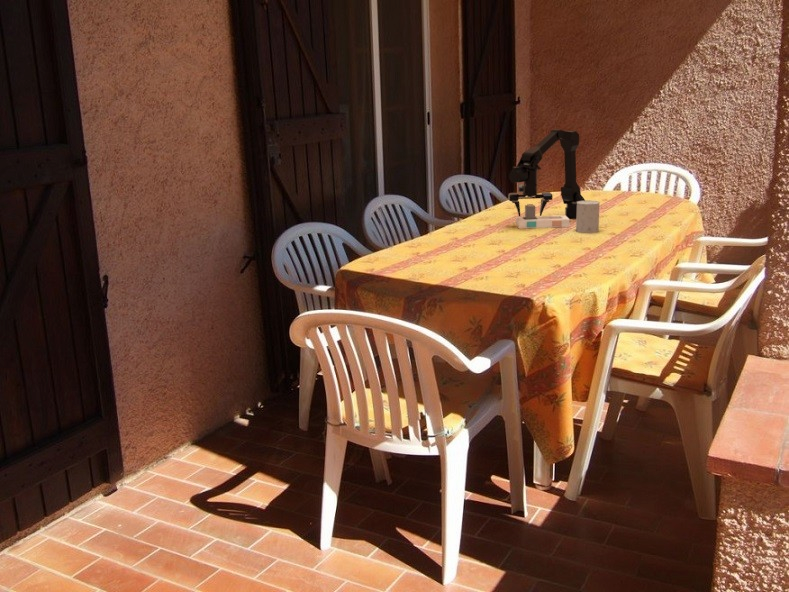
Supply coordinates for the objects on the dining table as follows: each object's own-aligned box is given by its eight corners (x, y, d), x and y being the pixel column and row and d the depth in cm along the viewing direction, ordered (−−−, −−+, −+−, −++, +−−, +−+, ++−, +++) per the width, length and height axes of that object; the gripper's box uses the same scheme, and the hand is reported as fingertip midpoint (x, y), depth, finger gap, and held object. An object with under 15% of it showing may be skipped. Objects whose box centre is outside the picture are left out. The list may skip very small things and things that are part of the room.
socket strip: (565, 222, 393) (565, 215, 392) (569, 227, 383) (569, 219, 382) (515, 224, 393) (516, 216, 393) (518, 228, 383) (519, 220, 382)
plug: (533, 225, 390) (534, 203, 388) (535, 226, 387) (535, 205, 384) (524, 225, 391) (525, 203, 388) (525, 227, 387) (526, 205, 384)
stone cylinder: (573, 232, 373) (573, 203, 370) (579, 228, 381) (580, 200, 378) (595, 233, 368) (596, 204, 365) (601, 229, 377) (602, 201, 373)
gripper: (548, 177, 391) (548, 212, 395) (506, 178, 391) (506, 213, 395) (553, 181, 380) (552, 216, 384) (509, 182, 380) (509, 217, 385)
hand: (530, 216), depth 387 cm, fingers open, 9 cm apart
